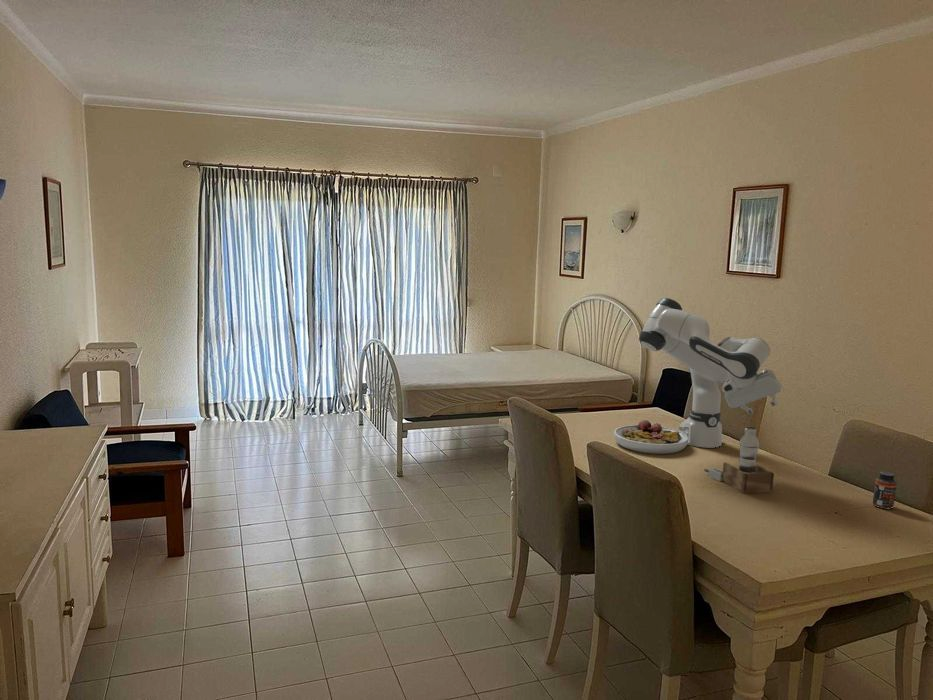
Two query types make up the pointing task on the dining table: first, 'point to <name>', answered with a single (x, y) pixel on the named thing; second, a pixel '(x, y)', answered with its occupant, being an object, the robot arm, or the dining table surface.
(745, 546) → the dining table surface
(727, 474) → the end cradle
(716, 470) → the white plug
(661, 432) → the bowl
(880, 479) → the supplement bottle
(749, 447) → the plastic bottle
